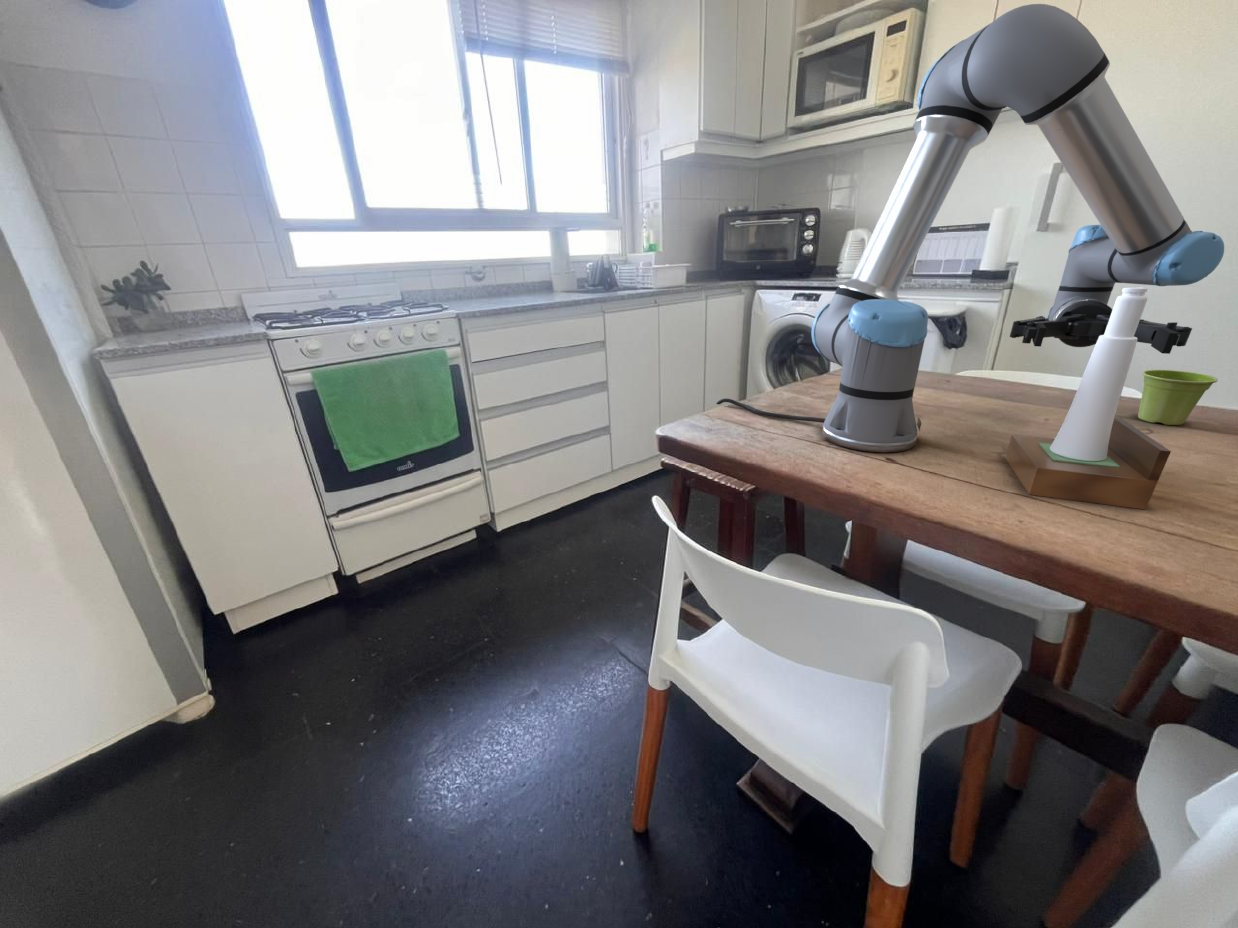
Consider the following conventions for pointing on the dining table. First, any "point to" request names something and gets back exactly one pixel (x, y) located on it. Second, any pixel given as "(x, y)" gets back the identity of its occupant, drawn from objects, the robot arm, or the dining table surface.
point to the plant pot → (1171, 395)
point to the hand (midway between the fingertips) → (1101, 340)
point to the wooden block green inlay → (1092, 469)
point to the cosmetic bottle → (1102, 383)
